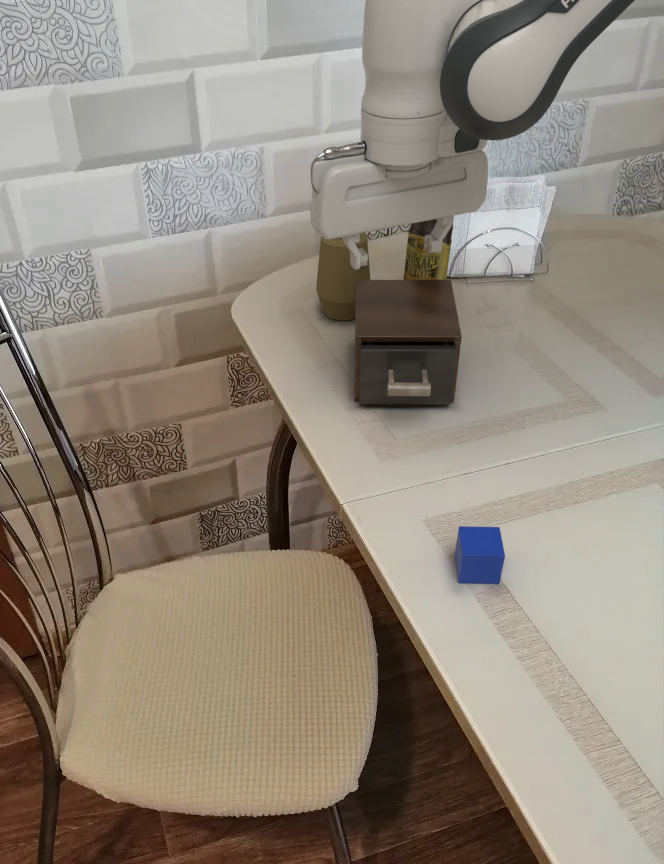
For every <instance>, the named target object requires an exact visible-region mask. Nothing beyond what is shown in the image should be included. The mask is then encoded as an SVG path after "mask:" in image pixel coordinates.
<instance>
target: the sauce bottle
mask: <svg viewBox="0 0 664 864" xmlns="http://www.w3.org/2000/svg"><path fill="white" fill-rule="evenodd" d="M436 223H437V220H436V219H433V220H428V221H423V222H418V223H413V224H409V225H410V226H409V230H408V234H407V242H406V251H405V252H406V253H405V260H404V261H405V262H404V271H403V279H402V280H447V277H448V271H449V263H450V257H451V256H450V255H451V251H452V250H451V249H452V242H453V240H452V238H453V230H454V224H453V225H452V227H451V228H450V230H449V231H448V233H447V234H446V236H445V238H444V239H443V242H442V251H441V252H440V253H435V254H430V255H429V254H428V252H425V250H424V244H425V241H424V237H425V235H430V234H431V232H432V230H433V228H434V226H435V225H436Z"/></svg>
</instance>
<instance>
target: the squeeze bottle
mask: <svg viewBox="0 0 664 864" xmlns="http://www.w3.org/2000/svg"><path fill="white" fill-rule="evenodd" d="M355 245H356V246H357V248H358V249H360V248H362V249H363V250H364V252H366V253H367V254H368V261H367V263H368V267H367V268H362V269H358V270H355V269H354V268H353V267H352V266H351V263H350V251H349V249H348V247H347V246H346V244H345V243H344V241H343V240H342V238H336V239H331V240H326V239H324V238H323V237H322V236H321V235H320V243H319V254H318V264H317V277H316V288H315V290H316V294H317V297H318V300H319V302H320V305H321V308H322V310H323V313H324V315H326V317H328V318H330V319H333V320H335V321H351V320H355V299H356V280H371V270H370V269H371V268H370V257H369V256H370V255H369V242H368V235H367V233H361V234H360V241H359V242H357V243H355Z"/></svg>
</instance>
